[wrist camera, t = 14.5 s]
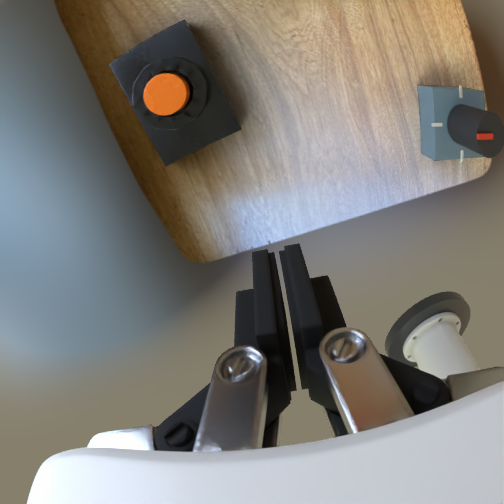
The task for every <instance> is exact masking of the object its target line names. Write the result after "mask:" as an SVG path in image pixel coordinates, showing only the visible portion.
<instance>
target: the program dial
mask: <svg viewBox="0 0 504 504" xmlns="http://www.w3.org/2000/svg"><path fill="white" fill-rule="evenodd" d="M447 128H448V132H449V135H450V137H451V138H452V140H453V141H454V142H456V143H457V144H459V145H462V146H464V147H466V148H468V149H470V150H472V151H474V152H476V153H478V154H480V155H482V156H484V157H487V158H493V157H495V156H496V155H497V154H499V152H500V151H501V149H502V147H503V145H504V125H503V123H502V120H501V119H500V118H499V117H498V116H497V115H496V114H494V113H492V112H488V111H485V110H482V109H478V108H475V107H471V106H468V105H464V104H459V105H456V106H455V107H454V108H452V110H451V111H450V113H449V116H448V120H447Z"/></svg>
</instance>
